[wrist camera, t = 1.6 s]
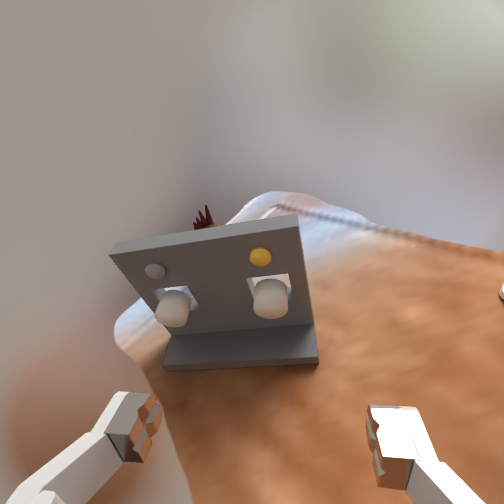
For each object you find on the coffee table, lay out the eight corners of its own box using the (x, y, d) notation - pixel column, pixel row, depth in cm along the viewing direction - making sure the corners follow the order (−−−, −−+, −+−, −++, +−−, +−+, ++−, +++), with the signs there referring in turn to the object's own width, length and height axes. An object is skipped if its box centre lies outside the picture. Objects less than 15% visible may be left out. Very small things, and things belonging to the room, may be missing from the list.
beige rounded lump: (290, 317, 36) (285, 296, 33) (257, 320, 37) (249, 300, 34) (289, 298, 39) (284, 276, 36) (258, 301, 40) (251, 280, 37)
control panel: (319, 363, 40) (301, 259, 26) (167, 371, 45) (87, 286, 31) (313, 316, 46) (296, 212, 32) (180, 328, 51) (117, 241, 37)
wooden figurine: (236, 254, 62) (214, 197, 53) (236, 272, 58) (213, 213, 48) (207, 260, 63) (181, 205, 54) (205, 278, 59) (176, 222, 49)
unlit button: (191, 326, 39) (178, 307, 36) (163, 328, 40) (148, 310, 37) (196, 307, 41) (184, 288, 39) (169, 310, 42) (156, 291, 40)
